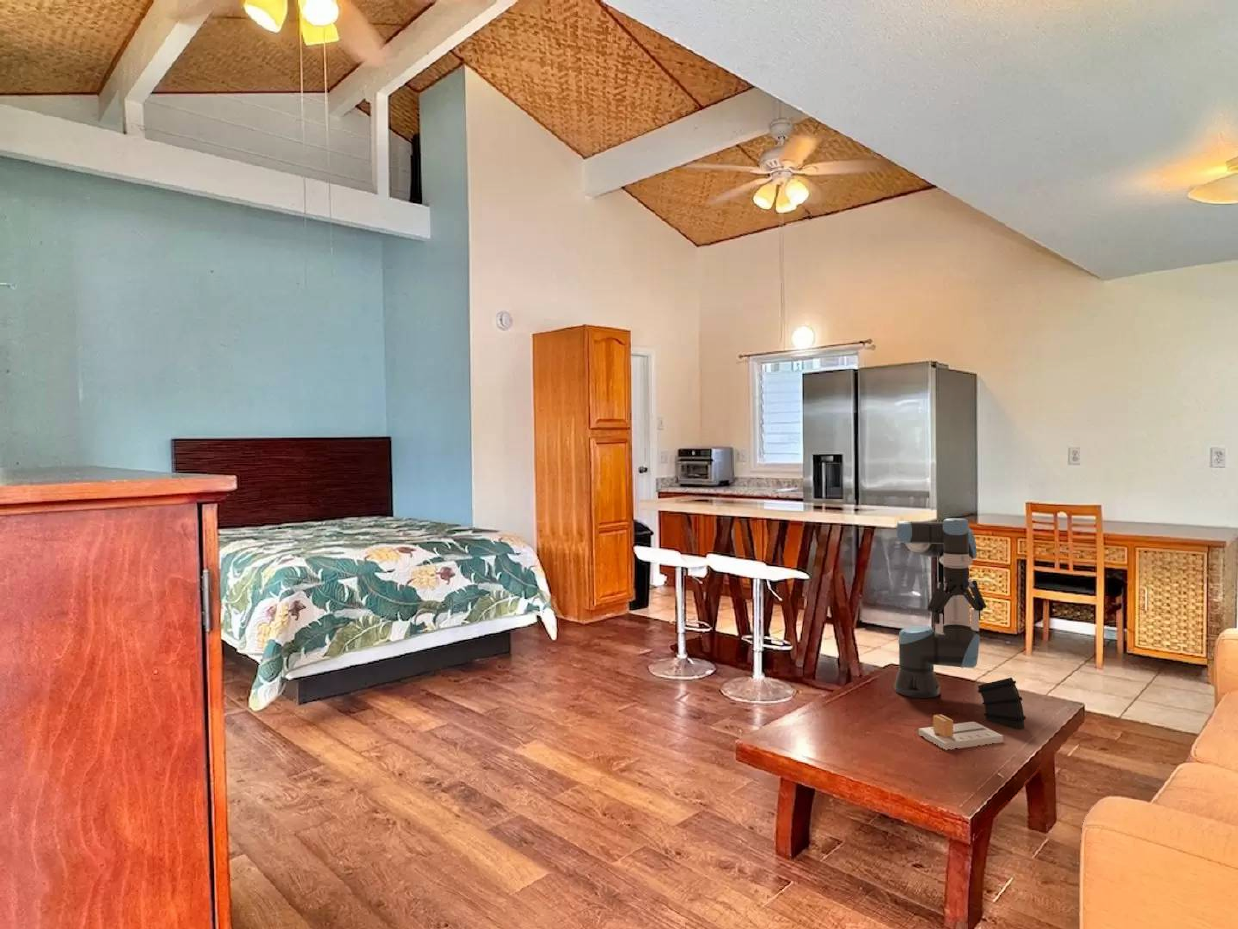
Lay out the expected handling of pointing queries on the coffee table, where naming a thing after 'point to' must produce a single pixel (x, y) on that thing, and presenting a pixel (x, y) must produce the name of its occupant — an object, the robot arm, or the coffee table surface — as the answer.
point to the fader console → (962, 736)
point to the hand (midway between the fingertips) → (957, 631)
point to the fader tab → (943, 725)
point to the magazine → (1003, 703)
